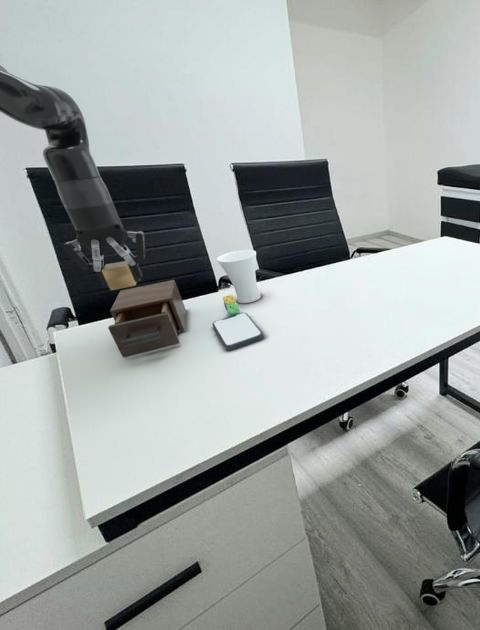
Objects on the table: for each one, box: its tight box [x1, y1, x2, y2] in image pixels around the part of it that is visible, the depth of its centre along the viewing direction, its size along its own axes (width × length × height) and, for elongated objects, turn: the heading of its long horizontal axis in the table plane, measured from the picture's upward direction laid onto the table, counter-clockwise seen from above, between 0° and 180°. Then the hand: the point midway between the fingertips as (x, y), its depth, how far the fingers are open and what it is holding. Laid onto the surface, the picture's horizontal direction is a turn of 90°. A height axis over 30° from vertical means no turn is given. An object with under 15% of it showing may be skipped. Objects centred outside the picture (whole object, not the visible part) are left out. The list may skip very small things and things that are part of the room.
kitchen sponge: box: [222, 294, 241, 317], centre depth 103 cm, size 8×3×6 cm, turn 34°
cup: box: [216, 249, 262, 304], centre depth 112 cm, size 10×10×14 cm
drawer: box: [107, 301, 181, 358], centre depth 91 cm, size 18×11×8 cm, turn 27°
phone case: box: [211, 312, 264, 351], centre depth 96 cm, size 9×2×16 cm
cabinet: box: [109, 279, 187, 334], centre depth 100 cm, size 15×13×10 cm
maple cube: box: [102, 260, 138, 291], centre depth 82 cm, size 4×4×4 cm
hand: (124, 283), depth 83 cm, fingers closed on maple cube, 4 cm apart
